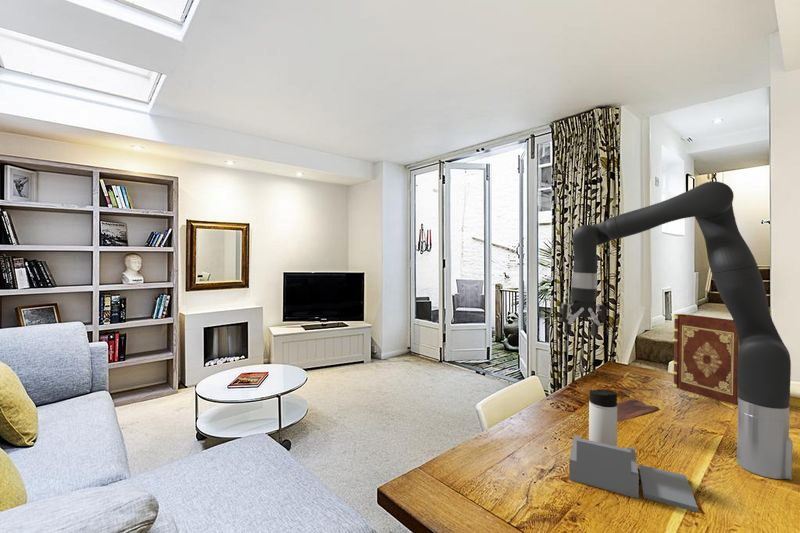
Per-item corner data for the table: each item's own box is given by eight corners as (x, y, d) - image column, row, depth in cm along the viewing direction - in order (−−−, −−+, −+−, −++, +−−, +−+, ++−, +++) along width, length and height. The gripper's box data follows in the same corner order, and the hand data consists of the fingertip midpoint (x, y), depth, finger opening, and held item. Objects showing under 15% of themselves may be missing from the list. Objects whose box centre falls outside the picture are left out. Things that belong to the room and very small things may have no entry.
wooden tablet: (612, 421, 117) (585, 406, 126) (612, 427, 117) (584, 412, 126) (662, 407, 128) (633, 394, 137) (661, 413, 128) (633, 400, 137)
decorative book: (668, 385, 152) (669, 314, 151) (680, 383, 155) (680, 313, 154) (736, 405, 131) (738, 323, 131) (747, 401, 135) (749, 321, 134)
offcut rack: (634, 467, 93) (634, 428, 93) (638, 498, 81) (639, 454, 80) (573, 452, 100) (574, 416, 99) (569, 479, 88) (569, 438, 87)
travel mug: (603, 476, 89) (604, 395, 88) (583, 462, 95) (583, 386, 95) (623, 472, 90) (624, 393, 90) (602, 458, 97) (603, 384, 96)
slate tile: (685, 479, 88) (685, 475, 88) (697, 512, 76) (697, 507, 76) (638, 468, 92) (639, 464, 92) (643, 497, 81) (643, 493, 81)
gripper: (568, 287, 114) (565, 337, 115) (612, 288, 115) (609, 338, 116) (557, 284, 122) (554, 332, 123) (598, 286, 122) (595, 333, 123)
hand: (580, 335), depth 119 cm, fingers open, 8 cm apart
